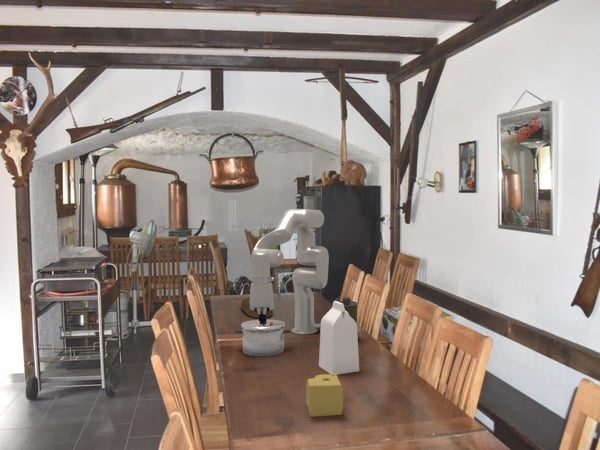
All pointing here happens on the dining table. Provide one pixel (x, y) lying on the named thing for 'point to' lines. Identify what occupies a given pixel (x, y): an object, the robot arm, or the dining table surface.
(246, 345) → the pot
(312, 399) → the cheese
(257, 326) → the lid
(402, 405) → the dining table surface
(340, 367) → the milk
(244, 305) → the bread
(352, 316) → the canister
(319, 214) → the robot arm
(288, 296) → the dining table surface
